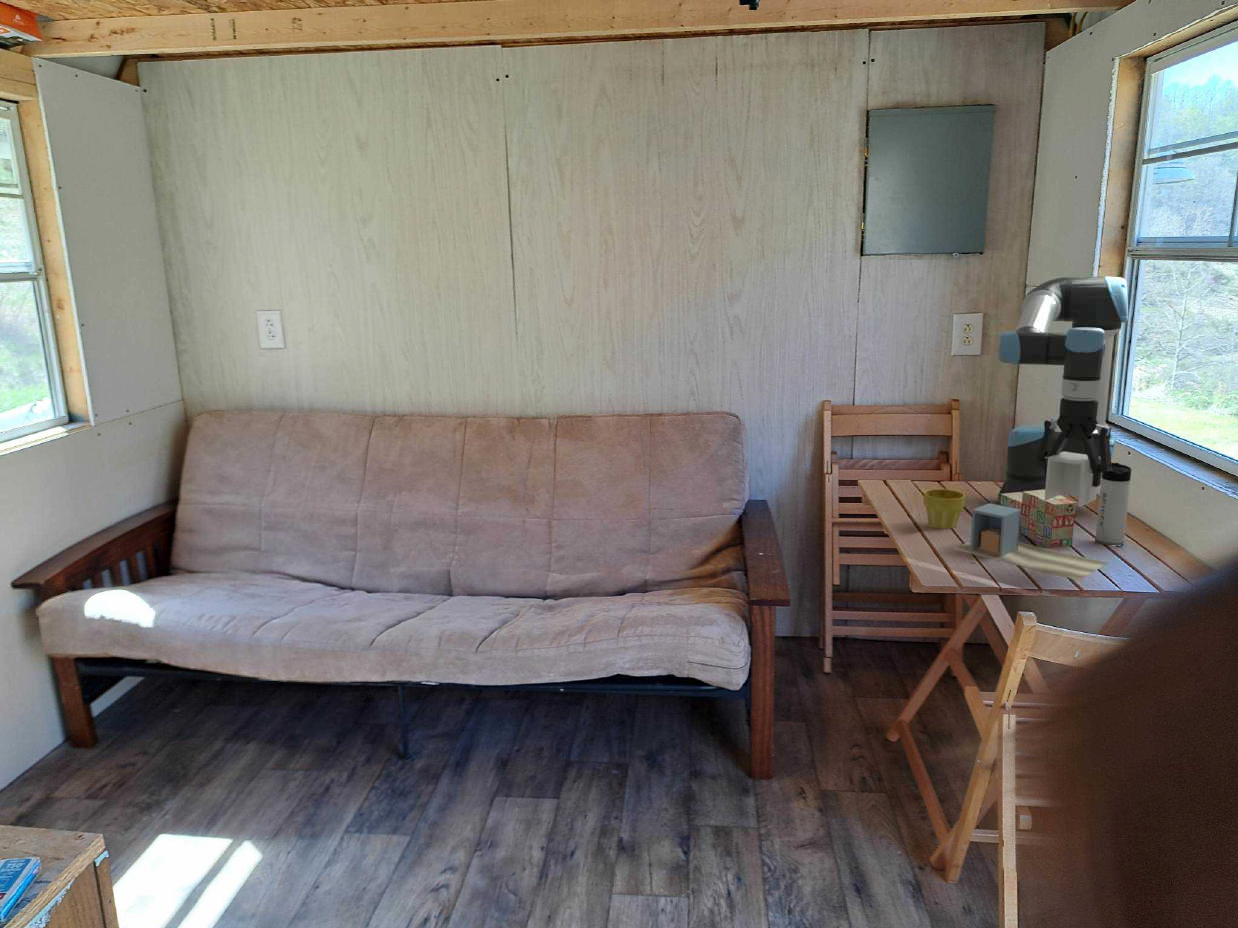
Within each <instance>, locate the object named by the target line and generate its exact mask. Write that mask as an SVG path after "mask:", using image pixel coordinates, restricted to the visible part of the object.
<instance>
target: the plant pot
mask: <svg viewBox="0 0 1238 928" xmlns="http://www.w3.org/2000/svg"><path fill="white" fill-rule="evenodd" d="M965 503H966V494H965V493H964V492H961V491H960V490H955V489H950V488H930V489H927V490H925V491H924V493H923V505H924V506H925V510H926V514H927V524H928V527H929V529H931V528H935V529H941V530H942V529H945V530H947V529H948V530H950V529H955V528H956V527H957V525H958V521H959V519H960V515H961V511H962V510H963V509H964V508H965V505H966V504H965Z"/></svg>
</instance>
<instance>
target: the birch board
mask: <svg viewBox="0 0 1238 928" xmlns="http://www.w3.org/2000/svg"><path fill="white" fill-rule="evenodd" d="M970 543H971V540H970V541H968V542H965V543H962V544H960V545H958V546H956V547H952V550H955V551H959V552H964V553H967V554H971V555H975V556H979V557H983V558H987V559H991V560H995V561H999V562H1002V563H1007V564H1011V565H1015V566H1019V567H1023V568H1027V569H1031V570H1036V571H1040V572H1043V573H1047V574H1050V575H1051V574H1052V575H1055V576H1060V577H1064V578H1066V579H1071V580H1075V581H1079V580H1081V579H1083V578H1085V577H1086V576H1088V575H1090V574H1092V573H1094V572H1096V571H1097V570H1099V569H1101V568H1103V567H1105V566H1106V565H1109V562H1106V561H1102V560H1097V559H1092V558H1089V557H1085V556H1080V555H1075V554H1072V553H1067V552H1063V551H1058V550H1054V549H1050V548H1045V547H1041V546H1037V545H1032V544H1028V543H1024V542H1020V541H1018V549H1017V550H1014V551H1012V552H1010V553H1008V554H1006V555H1004V556H1002V557H1001V556H999V553H996V552H991V551H987V550H983V549H981V546H979V547H977V548H974V549H970Z"/></svg>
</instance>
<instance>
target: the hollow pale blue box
mask: <svg viewBox="0 0 1238 928" xmlns="http://www.w3.org/2000/svg"><path fill="white" fill-rule="evenodd" d="M1020 516H1021V510H1020V509H1015V508H1010V507H1005V506H1000V505H998V504H995V503H990V502H989V503H987V504H984V505H981V506H979V507H976V508H974V509H972V515H971V529H970V530H971V532H970V541H971V543H970V549H974V548H977V547H979V546H981V534H982V531H984V530H986V529H988V528H996V529H1000V530H1001V538H1000V551H999V556H1001V557H1002V556H1004V555H1006V554H1008V553H1010V552H1012V551H1014V550H1017V549H1018V542H1020V541H1019V539H1020V533H1019V528H1020Z"/></svg>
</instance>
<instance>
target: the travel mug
mask: <svg viewBox="0 0 1238 928" xmlns="http://www.w3.org/2000/svg"><path fill="white" fill-rule="evenodd" d="M1111 465H1112V468H1111V469H1110V470H1108V471H1106V472H1102V474H1103V475H1102V476H1101V484H1100V488H1099V489H1100V490H1099V497H1098V498H1099V500H1098V508H1097V509H1098V510H1097V519H1096V530H1095V539H1094V541H1095V543H1096V544H1100V545H1104V546H1108V547H1109V546H1110V545H1122V546H1124V544H1125V537H1126V536H1125V535H1126V528H1127V527H1126V525H1127V518H1128V508H1129V497H1130V490H1131V489H1130V488H1131V476H1132V468H1131V467H1130V466H1128V465H1124V464H1120V463H1119V462H1111ZM1123 543H1124V544H1123ZM1110 547H1111V546H1110Z"/></svg>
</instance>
